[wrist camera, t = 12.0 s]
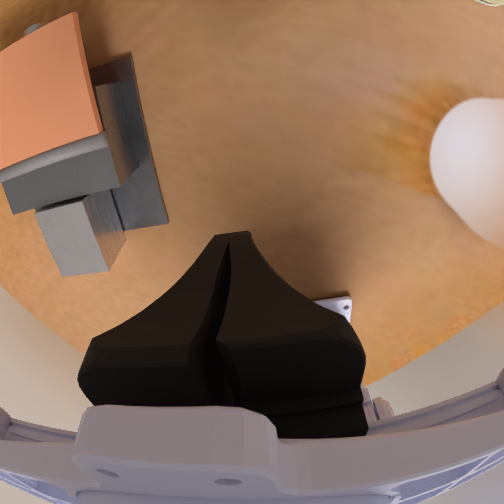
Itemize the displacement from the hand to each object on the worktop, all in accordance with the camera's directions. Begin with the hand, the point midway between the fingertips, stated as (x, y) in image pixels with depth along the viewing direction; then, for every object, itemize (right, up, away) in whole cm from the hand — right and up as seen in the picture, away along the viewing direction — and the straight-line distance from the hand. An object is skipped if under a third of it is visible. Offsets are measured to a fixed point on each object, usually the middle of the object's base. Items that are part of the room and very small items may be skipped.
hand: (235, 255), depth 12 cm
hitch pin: (-12, +8, +6) cm, 16 cm away
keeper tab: (-12, +9, +1) cm, 15 cm away
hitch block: (-12, +7, +8) cm, 15 cm away
